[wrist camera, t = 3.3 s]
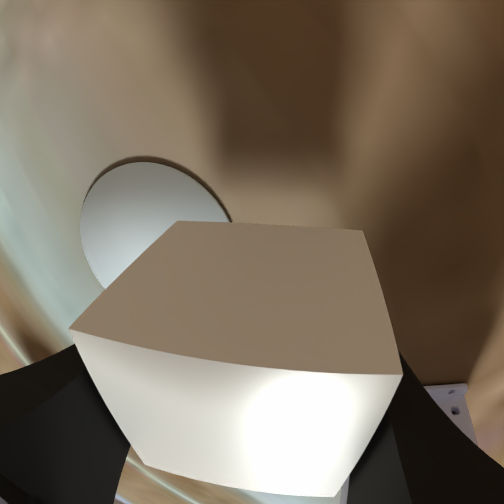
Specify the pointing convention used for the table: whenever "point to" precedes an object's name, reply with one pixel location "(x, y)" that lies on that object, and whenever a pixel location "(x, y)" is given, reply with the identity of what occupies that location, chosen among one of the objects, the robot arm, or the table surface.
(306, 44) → the table surface
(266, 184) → the table surface
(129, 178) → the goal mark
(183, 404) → the white cubic block
